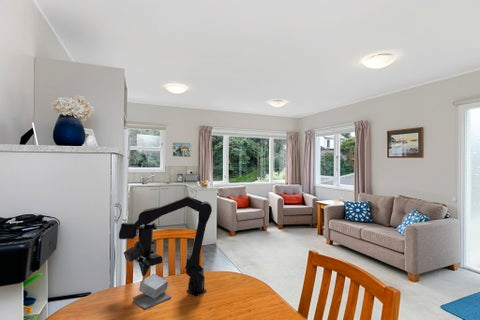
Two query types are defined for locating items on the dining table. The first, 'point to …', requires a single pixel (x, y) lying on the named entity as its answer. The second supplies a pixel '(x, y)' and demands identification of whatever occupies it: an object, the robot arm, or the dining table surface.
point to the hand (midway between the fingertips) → (143, 275)
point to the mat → (149, 300)
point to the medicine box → (153, 286)
